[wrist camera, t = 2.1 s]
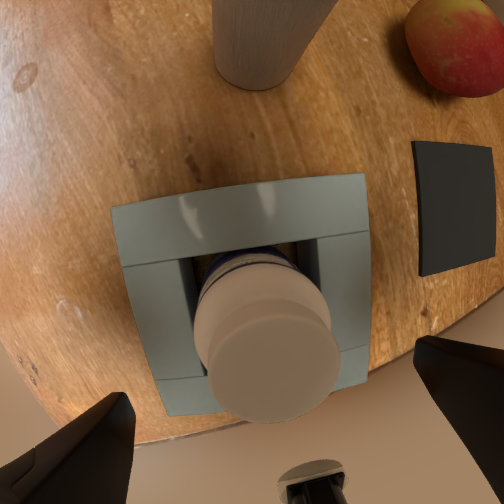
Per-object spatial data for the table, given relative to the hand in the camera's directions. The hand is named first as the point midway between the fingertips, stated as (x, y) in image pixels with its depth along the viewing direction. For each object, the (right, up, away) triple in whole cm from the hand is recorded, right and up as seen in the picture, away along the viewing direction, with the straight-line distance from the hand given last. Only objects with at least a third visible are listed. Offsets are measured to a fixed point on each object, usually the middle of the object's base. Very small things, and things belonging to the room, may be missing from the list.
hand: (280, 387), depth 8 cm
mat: (+14, +7, +9) cm, 19 cm away
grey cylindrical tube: (-1, +15, +6) cm, 16 cm away
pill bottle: (-1, +2, +9) cm, 9 cm away
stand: (-1, +2, +9) cm, 9 cm away
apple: (+12, +18, +7) cm, 23 cm away
